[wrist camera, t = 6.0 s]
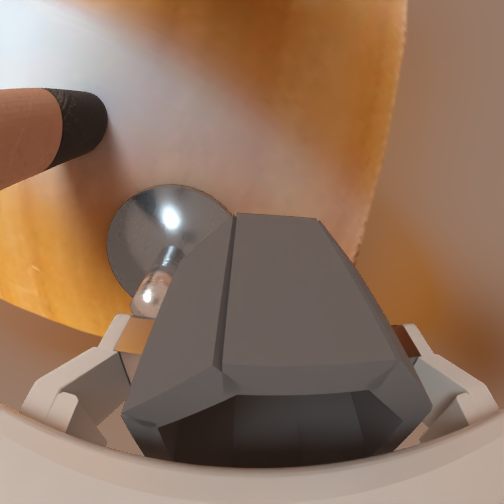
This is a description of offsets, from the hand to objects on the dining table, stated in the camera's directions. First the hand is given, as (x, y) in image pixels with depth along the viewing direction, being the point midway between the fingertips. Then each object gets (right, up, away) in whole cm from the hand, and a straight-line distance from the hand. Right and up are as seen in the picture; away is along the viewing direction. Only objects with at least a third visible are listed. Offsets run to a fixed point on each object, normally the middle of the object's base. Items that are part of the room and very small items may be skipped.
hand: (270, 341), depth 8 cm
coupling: (0, +1, +2) cm, 2 cm away
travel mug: (-19, +17, +16) cm, 30 cm away
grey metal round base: (-9, +2, +23) cm, 25 cm away
